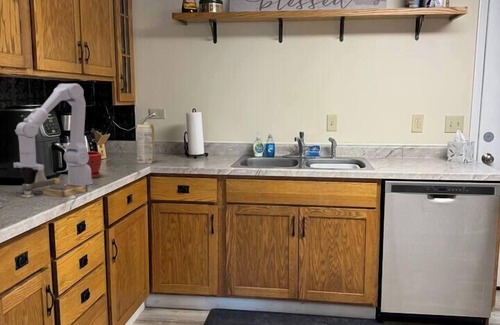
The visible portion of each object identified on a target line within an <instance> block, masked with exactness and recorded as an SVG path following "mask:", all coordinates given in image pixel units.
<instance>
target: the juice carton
mask: <svg viewBox="0 0 500 325" xmlns="http://www.w3.org/2000/svg"><path fill="white" fill-rule="evenodd" d="M155 150H156V148H155V127H154V124H149V122H143V124H142V123H140V124H137V126H136V157H137V158H136V159H137V163H138V164H141V165H142V164H143V165H144V164H145V165H146V164H147V165H148V164H149V165H150V164H153V163H154V162H155V157H156V156H155V155H156V154H155Z"/></svg>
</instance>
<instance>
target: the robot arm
mask: <svg viewBox="0 0 500 325" xmlns="http://www.w3.org/2000/svg"><path fill="white" fill-rule="evenodd" d="M62 101H66V102H67V103H68V104H69V105H70V106H71V119H70V120H71V121H70V136H69V143H68V144H67V145H66V148H65V152H64V154H63V160H64V161H65V163H66V165H67V172H68V173H67V177H68V179H67V180H68V183H65V184H63V186H64V187H67V184H74V185H83V186H89V185H93V184H94V182H92V181H93V180H92V178H91V168H90V166H89V165H87V164H86V163H87V162H88V160H89V155H88V152H87V151H88V147H87V146H86V145H85V144H84V140H85V125H86V124H85V123H86V122H85V120H86V106H87V105H86V104H87V103H86V99H85V96H84V89H83V87H82V86H81V85H80V84H79V83H59V84H58V85H57V86H56V87H55V88H54V89H53V92H52V93H51V94H50V96H49V97H48V98H47V99H46V101H45V102H44V103H43V104H42V105H41V106H40V107H36V108H32V109H31V113H30V114H29V115H27V117H26V118H24V119H23V121H22V122H18V124H17V125H16V129H14V132H15V134H16V135H17V137H18V145H19V146H18V148H19V149H18V150H19V162H18V161H16V162H13V168H14V169H15V168H20V169H19V170H18V171H19V174H20V175H21V177H22V178H23V181H24V184H26V183H33V182H35V179H36V175H37V172H38V170H44V169H45V165H44V164H40V163H37V153H36V149H37V148H36V136H37V135H38V134H39V129H40V127H41V126H42V125H43V124H44V123H45V122H46V121H47V119H48V118H49V113H50V112H51V111H52V110H53V109H54V108H55V107H56V106H57V105H58V104H59V103H60V102H62ZM44 171H45V170H44Z"/></svg>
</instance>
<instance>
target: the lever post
mask: <svg viewBox="0 0 500 325" xmlns="http://www.w3.org/2000/svg"><path fill="white" fill-rule="evenodd" d="M23 191H24V194H22V195H21V197H22V198H33V197H35V194H34V193H32V190H23Z"/></svg>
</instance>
